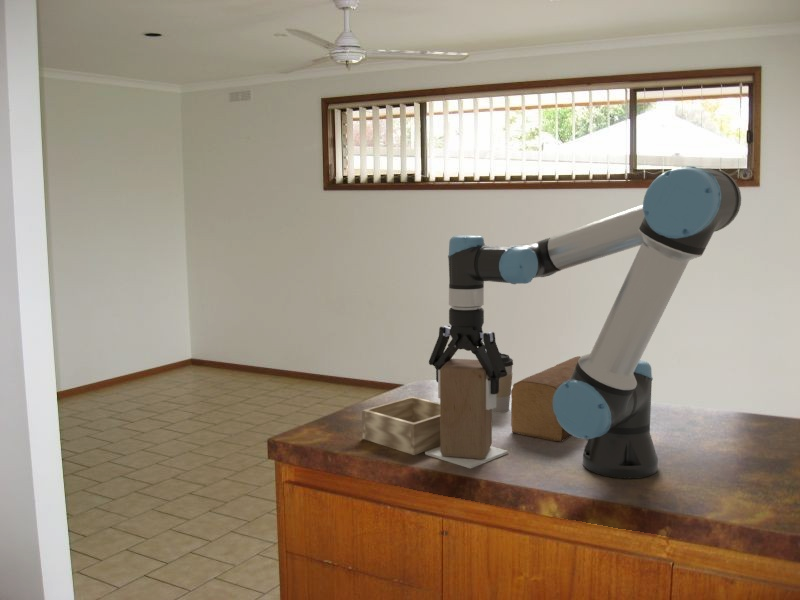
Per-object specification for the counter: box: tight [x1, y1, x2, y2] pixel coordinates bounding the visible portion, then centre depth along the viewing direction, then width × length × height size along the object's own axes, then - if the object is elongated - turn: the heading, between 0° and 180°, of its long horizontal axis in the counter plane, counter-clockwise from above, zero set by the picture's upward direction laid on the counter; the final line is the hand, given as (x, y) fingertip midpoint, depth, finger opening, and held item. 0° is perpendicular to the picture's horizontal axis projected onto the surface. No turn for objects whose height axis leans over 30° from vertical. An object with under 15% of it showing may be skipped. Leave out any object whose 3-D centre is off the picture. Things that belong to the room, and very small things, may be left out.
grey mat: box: [424, 445, 509, 469], centre depth 168 cm, size 13×13×1 cm
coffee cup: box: [492, 351, 514, 413], centre depth 203 cm, size 9×9×15 cm
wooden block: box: [439, 358, 493, 459], centre depth 167 cm, size 10×10×20 cm
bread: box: [510, 355, 581, 442], centre depth 191 cm, size 14×34×14 cm, turn 144°
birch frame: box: [361, 395, 441, 456], centre depth 180 cm, size 17×17×7 cm
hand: (466, 402), depth 167 cm, fingers open, 13 cm apart
